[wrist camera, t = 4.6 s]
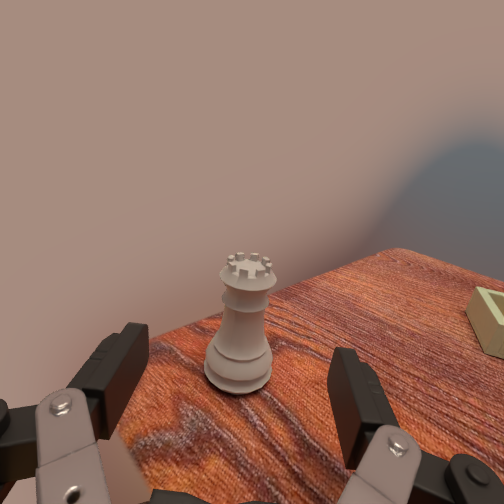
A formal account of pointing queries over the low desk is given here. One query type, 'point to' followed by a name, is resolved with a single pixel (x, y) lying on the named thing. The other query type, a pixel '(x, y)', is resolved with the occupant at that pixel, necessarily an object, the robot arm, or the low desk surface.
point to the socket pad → (488, 320)
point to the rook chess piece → (242, 327)
